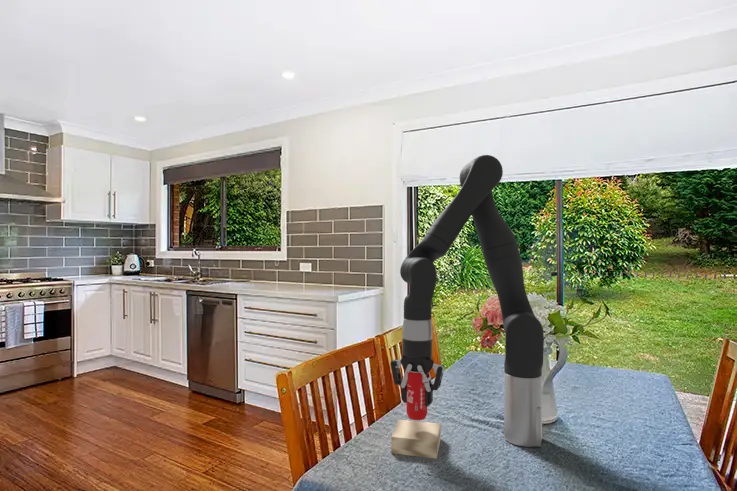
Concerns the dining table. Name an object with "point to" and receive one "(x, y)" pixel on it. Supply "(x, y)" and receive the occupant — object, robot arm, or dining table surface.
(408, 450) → the beech block
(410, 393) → the beverage can
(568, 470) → the dining table surface
